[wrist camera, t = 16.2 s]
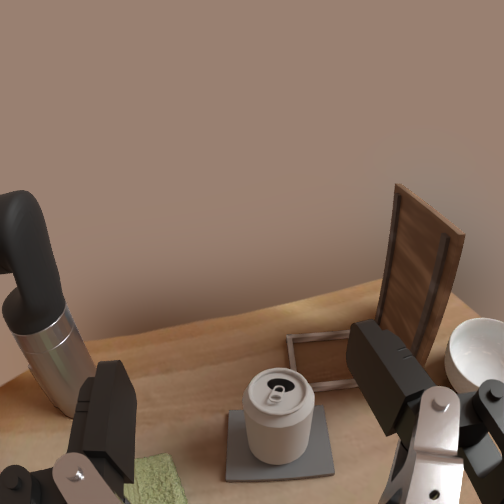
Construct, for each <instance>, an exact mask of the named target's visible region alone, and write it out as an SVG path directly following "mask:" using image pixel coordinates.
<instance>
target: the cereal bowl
mask: <svg viewBox="0 0 504 504" xmlns="http://www.w3.org/2000/svg"><path fill="white" fill-rule="evenodd" d="M445 369H446V374H447V377H448V379H449V381H450V383H451V385H452V386H453V388H454V389H455V391H457V393H459V394H460V393H468V392H474V391H477V390H478V389H479V387H480V385H481V384H482V383H483V382H484V381H486V380H489V379H495V380H499V381H501V382H503V383H504V323H503V322H501V321H498V320H494V319H489V318H475V319H470V320H467V321H465V322H463V323H461V324H460V325H458V326H457V327H456V328H455V329H454V331H453V332H452V334H451V336H450V339H449V341H448V344H447V348H446V352H445Z"/></svg>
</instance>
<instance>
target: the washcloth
mask: <svg viewBox="0 0 504 504" xmlns="http://www.w3.org/2000/svg"><path fill="white" fill-rule="evenodd" d="M124 495H125V496H126V497H127V498H128V500H129V501H130V502H131V503H132V504H188V503H187V498H186V496H185V494H184V489H183V487H182V486H181V482H180V478H179V476H178V474H177V471H176V467H175V465H174V463H173V460H172V458H171V455H170V454H169V455H168V453H163V454H158V455H154V456H150V457H148V458H146V457H144V458H137V459H135V460H134V484H124Z"/></svg>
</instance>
